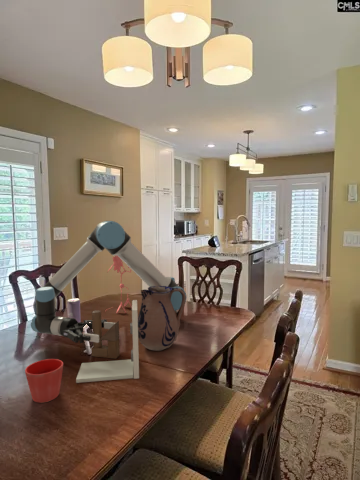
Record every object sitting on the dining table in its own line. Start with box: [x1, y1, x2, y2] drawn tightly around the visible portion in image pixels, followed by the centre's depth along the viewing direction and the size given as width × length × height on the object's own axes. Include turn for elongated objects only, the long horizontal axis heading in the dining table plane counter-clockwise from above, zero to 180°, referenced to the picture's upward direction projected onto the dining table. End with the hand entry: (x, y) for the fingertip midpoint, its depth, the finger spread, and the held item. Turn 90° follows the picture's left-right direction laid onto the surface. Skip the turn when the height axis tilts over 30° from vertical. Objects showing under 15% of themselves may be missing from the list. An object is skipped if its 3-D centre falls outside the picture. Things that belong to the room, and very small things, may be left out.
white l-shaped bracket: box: [75, 299, 140, 384], centre depth 114 cm, size 21×13×24 cm, turn 98°
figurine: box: [105, 255, 133, 314], centre depth 188 cm, size 15×26×35 cm, turn 164°
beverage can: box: [66, 297, 82, 323], centre depth 158 cm, size 6×6×15 cm
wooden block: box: [90, 309, 121, 360], centre depth 127 cm, size 4×11×18 cm, turn 76°
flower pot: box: [24, 358, 64, 404], centre depth 100 cm, size 11×11×10 cm
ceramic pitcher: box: [138, 286, 187, 352], centre depth 136 cm, size 18×21×25 cm
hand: (108, 332), depth 127 cm, fingers open, 13 cm apart
